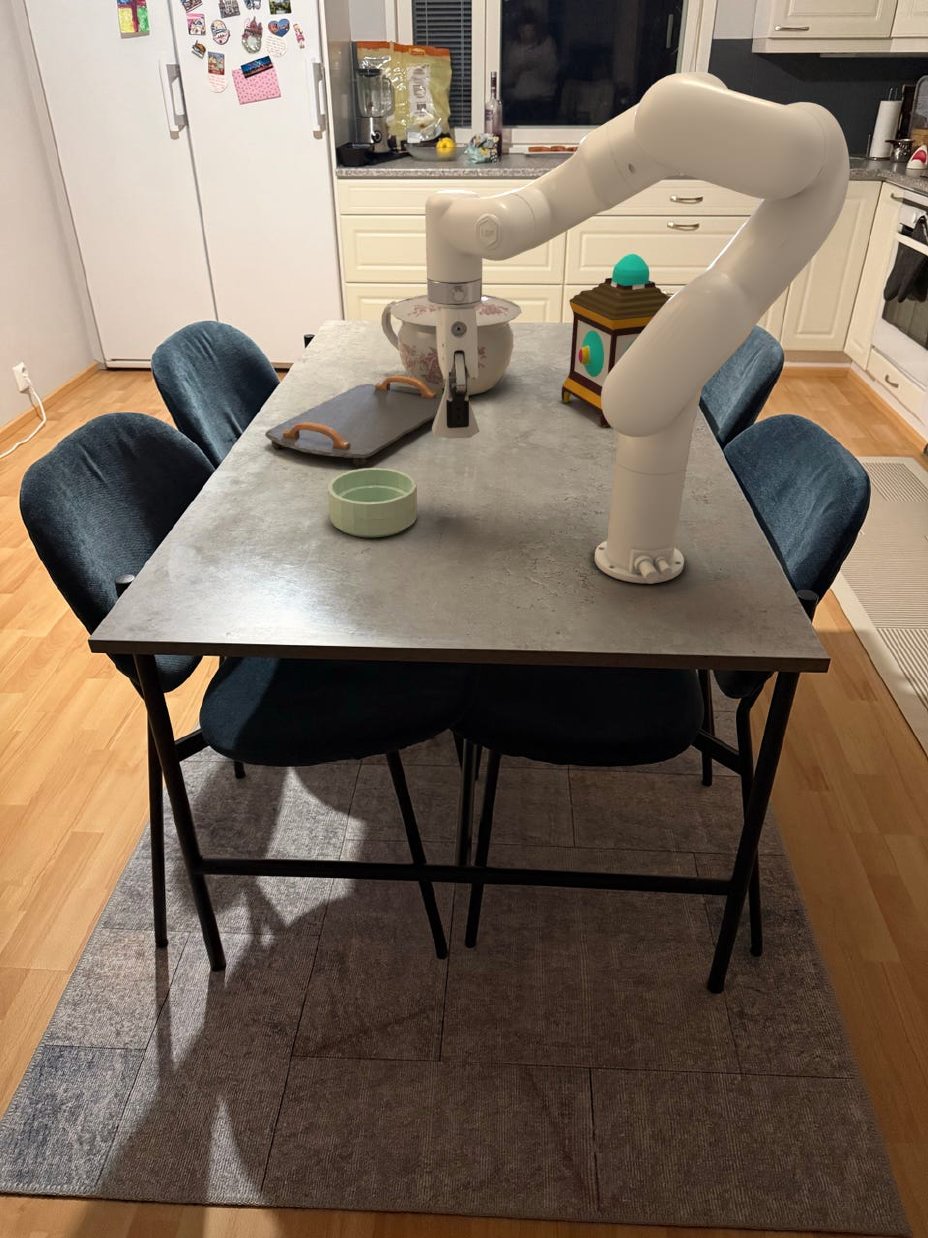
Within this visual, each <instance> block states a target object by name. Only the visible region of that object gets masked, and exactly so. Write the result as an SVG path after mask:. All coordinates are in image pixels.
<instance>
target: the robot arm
mask: <svg viewBox="0 0 928 1238" xmlns="http://www.w3.org/2000/svg"><path fill="white" fill-rule="evenodd" d="M842 129H843V128H841V126H840V123H839V122H838V120H837V119H836V117H835V116H834V115H833V114H832V113H831V112H830V111H829V110H828V109H827V108H825V107H824V106H822V105H819V104H817V103H815V102H814V103H813V102H807V101H806V102H805V101H798V102H792V103H789V104H782V103H777V102H774V101H770V100H767V99H763V98H761V97H760V98H759V97H755V96H752V95H748V94H745V93H741V92H738V91H734V90H733V89H728V87H727V85H726V83H724V82H723V81H722V80H721V79H720V78H719V77H717V76H715V75H714V74H713V73H709V72H705V71H687V72H678V73H672V74H670V75H666V76H665V77H663V78H661V79H659V80H657V81H656V82H655V83H654V84H652V85H651V87H649V88H648V90H646V92H645V93H644V94H643V96H642V97H641V99H640V100H639V102H638V103H637V104H635V105H633V106H632V107H630V108H627V110H625V111H623V112H622V113H620V114H619V115H617V116H615V117H614V118H612V119H610V120H608V121H606V122H605V123H604V124H602V125H600V126H599V127H597V128H595V129H593V130H591V131H590V132H589V133H588V134H586V135H585V136H584V137H583V138H582V139H581V140H580V142H579V144H578V146H577V150H576V151H575V152H574V153H573V154H572V155H571V156H570V157H569V158H568V159H566V160H565V161H564V162H563V163H560V164H559V165H558V166H556V167H555V168H553V169H551V170H550V171H548V172H547V173H545V174H543V175H542V176H540V177H538V178H536V179H535V180H533V181H531V182H530V183H528V184H526V185H524V186H522V187H520V188H518V189H513V190H510V191H505V192H502V193H499V194H496V195H492V196H487V197H481V196H480V195H479V194H478V193H475V192H473V191H469V190H458V189H457V190H455V189H451V190H441V191H440V190H439V191H435V192H433V193H431V194H430V195H428V196H427V198H426V201H425V207H424V209H425V210H424V214H425V253H426V254H425V255H426V260H425V261H426V294H427V303H428V304H429V305H431V306H434V307H436V336H437V352H438V362H439V366H440V369H441V372H442V375H443V386H444V387H445V383H446V380H447V381H448V400H446V412H447V427H448V428H463V427H468V426H469V401H470V398H469V396H468V373H469V375H470V378H473V380H476V379H477V378H478V343H477V319H476V309H475V306H478V305H480V304H481V303H482V294H483V259H484V260H488V261H495V262H497V261H506V260H509V259H512V258H514V257H516V256H519V255H521V254H523V253H525V252H527V251H532V250H533V249H536V248H538V247H540V246H542V245H544V244H545V243H547V242H549V241H551V240H553V239H555V238H556V237H558V236H560V235H562V234H564V233H565V232H567V231H569V230H571V229H572V228H575V227H576V226H579V225H580V224H582V223H584V222H586V221H587V220H589V219H591V218H592V217H594V216H596V215H598V214H600V213H602V212H605V211H609V210H612V209H614V208H615V207H617V206H618V205H620V204H622V203H623V202H625V201H627V200H629V199H631V198H633V197H634V196H636V195H638V194H640V193H642V192H643V191H645V190H647V189H649V188H650V187H652V186H654V185H656V184H658V183H659V182H661V181H663V180H665V179H667V178H668V177H669V178H670V176H673V175H675V174H676V173H680V174H681V175H685V176H688V177H691V178H694V179H696V180H700V181H703V182H705V183H709V184H712V185H715V186H718V187H721V188H724V189H727V190H730V191H733V192H736V193H740V194H742V195H745V196H749V197H752V198H756V199H759V200H761V202H760V203H759V204H758V205H757V207H756V209H754V211H753V212H752V214H751V215H750V216H749V217H748V218H747V220H746V221H744V223H743V224H742V225H741V226H740V228H739V229H738V230H737V231H736V233H735V234H734V236H733V237H732V238H731V240H730V241H729V242H728V244H726V246H725V247H724V248H723V250H722V251H721V252H720V253H719V254H718V256H717V257H716V258H715V259H714V260H713V261H712V263H711V264H710V265H709V266H708V267H706V269H705V270H704V271H703V272H702V273H701V274H700V275H698V276H697V277H695V278H694V279H693V280H691V281H690V282H688V283H687V284H686V285H684V286H683V287H681V288H680V289H679V290H677V291H676V292H675V293H674V294H672V296H670V297H671V298H670V299H669V300H668V301H667V302H666V303H665V304H664V305H663V307H662V308H661V309H660V310H659V311H658V312H657V314H656V315H655V316H654V317H653V319H652V320H651V321H650V322H649V324H648V325H647V326H646V327H645V329H644V330H643V331H642V332H641V334H640V335H639V336H638V337H637V339H636V340H635V341H634V342H633V344H632V345H631V346H630V347H629V349H628V350H627V351H626V352H625V354H624V355H623V356H622V357H621V359H620V360H619V361H618V362H617V364H616V365H615V366H614V367H613V369H612V370H611V371H610V373H609V374H608V376H607V377H606V379H605V382H604V384H603V388H602V392H601V406H602V411H603V414H604V416H605V418H606V420H607V422H608V423H607V424H609V425H610V427H611V428H612V429H613V430H615V431H616V432H618V434H617V441H616V449H615V459H614V468H613V469H614V470H613V479H612V488H611V498H610V509H609V519H608V529H607V531H608V532H607V539H606V540H605V541H603V542H601V543H600V544H599V545H597V546H596V548H595V551H594V563H595V565H596V566H597V568H598V569H599V570H600V571H602V572H603V573H604V574H606V575H608V577H609V576H610V577H612V578H614V579H617V580H621V581H623V582H628V583H634V584H648V585H649V584H650V585H652V584H657V583H664V582H667V581H670V580H672V579H674V578H676V577H678V576H679V575H680V574H681V573H682V572H683V570H684V565H685V558H684V555H683V553H682V552H681V551H680V550H679V549H678V548H677V547H676V542H677V536H678V535H677V534H678V529H679V521H680V515H681V507H682V501H683V494H684V487H685V479H686V473H687V467H688V462H689V455H690V447H691V444H692V443H691V442H692V437H693V433H694V432H693V431H694V428H695V427H694V426H695V423H696V422H695V421H696V419H697V418H696V417H697V414H698V409H699V405H700V400H701V396H702V392H703V387H705V385H706V384H707V383H708V382H709V381H710V380H711V379H712V378H713V376H715V374H716V373H717V372H718V371H719V370H720V369H721V368H722V367H723V365H724V364H726V362H727V361H728V360H729V359H730V358H731V357H732V355H733V354H734V353H736V351H737V350H738V349H739V348H740V347H741V346H742V345H743V344H744V342H745V341H746V340H747V339H748V337H749V336H750V335H751V333H752V332H753V329H754V328H755V327H756V325H757V324H758V322H759V321H760V320H761V319H762V317H763V316H764V315H765V314H766V312H768V310H769V309H771V307H772V306H773V305H774V303H775V302H777V300H778V299H779V298H780V297H781V296H782V294H783V293H784V292H785V291H786V290H787V289H788V287H790V285H791V284H792V283H793V282H794V280H795V279H796V278H797V277H798V275H799V274H800V273H801V272H802V271H803V270H804V268H805V267H806V266H807V265H808V264H809V263H810V261H811V260H812V259H813V258H814V256H815V255H816V254H817V253H818V251H819V250H820V249H821V247H823V245H824V243H825V242H826V240H827V239H828V237H829V236H830V235H831V232H832V231H833V229H834V227H835V225H836V223H837V222H838V220H839V217H840V215H841V213H842V211H843V207H844V204H845V201H846V198H847V195H848V194H847V193H848V188H849V183H850V173H851V169H850V167H851V166H850V156H849V149H848V145H847V141H846V138H845V135H844V132H843V130H842ZM467 371H468V373H467ZM451 374H455V377H456V378H451ZM452 383H456V384H455V385H456V386H453V388H452ZM444 389H445V388H442V396H443V393H444ZM468 398H469V399H468Z"/></svg>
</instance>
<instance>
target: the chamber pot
mask: <svg viewBox="0 0 928 1238" xmlns="http://www.w3.org/2000/svg"><path fill="white" fill-rule="evenodd" d="M475 309H476V319H477V343H478V378H477V379H476V380H473V378H470V375H469V373H468V371H467V373H468V397H470V396H471V397H472V396H475V395H479V394H481V393H485V392H487V391H489V390H492V388H494V387H495V386H496V384H498V383H499V381H500V379H501V378H502V376H503V375H504V373H505V372H506V370H507V369H508V367H509V366H510V362H511V358H512V354H513V349H514V330H513V328H512V326H511V324H510V321H513V320H515V319H517V318H518V316H520V315H521V314H522V309H521V306H520V305H518V304H517V303H515V302H514V301H511V300H509V299H505V298H502V297H499V296H496V295H490V294H485V293H482V303H481V304H480V305H478V306H475ZM392 316H393V317H394V318H395V319H397V320H399V321H401V325H400V326H399V329H398V333H397V334H396V332H395V331H394V329H393V325H392ZM380 325H381V327H382V331H383V334H384V336H386V338H387V340H388V341H389V343H390V344H391V345H392V346H393V347H394V348H395V349H396V350H397V351H398V352H399V356H400V360H401V364H402V366H403V368H404V369H405V371H406V373H407V374H408V377H411V378H415V379H417V380H420V381H421V382H423V383H424V384H425V385H426V386H427V387H428V389H429V390H430V391H431V392H434V393H436V394H439V395H442V388H445V387H444V386H443V375H442V372H441V369H440V366H439V362H438V352H437V336H436V307H434V306H431V305H429V304H428V303H427V293H425V294H419V295H416V296H411V297H408V298H404V299H402V300H399V301H396V300H393V301H391V302H389V303H387V305H386V306H385V307H384V309H383V311H382V314H381V324H380Z"/></svg>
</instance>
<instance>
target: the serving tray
mask: <svg viewBox="0 0 928 1238" xmlns="http://www.w3.org/2000/svg"><path fill="white" fill-rule="evenodd" d="M391 383H398V384H399V383H401V384H406V385H410V386H413V387H410V386H404V385H397V384H396V385H395V384H391ZM441 399H442V395H439V394H436V393H434V392H431V391H430V390H429V389H428V387H427V386H426V385H425V384H424V383H423V382H421V381H420V380H417V379H415V378H411V377H410V376H407V375H391V376H388V377H387V378H386V379H384V380H383V381H382V382H376V383H375V384H374V383H363V384H358V385H356V386H353V387H352V388H349V389H348V390H346V391H344V392H342V393H340V394H338V395H336V396H334V397H332V398H331V399H330V398H329V399H328V400H325V401H323V402H322V403H320V404H318V405H315V406H314V407H312V408H309V409H308V410H306V411H303V412H302V413H300V414H298V415H296V416H294V417H292V418H290V419H288V420H286V421H284V422H282V423H279V424H277V425H276V426H274V427H272V428H270V429H268V430H266V432H265V433H264V436H265V438H267V439H268V440H270V442H271V443H270V444H271V446H272V447H273V449H274V450H275V451H276V450H282V447H285V448H289V449H292V450H296V451H298V452H301V453H302V452H303V453H307V454H313V455H321V456H328V457H336V458H345V459H351V458H352V459H353V460H352V461H353V464H354V466H355V467H356V469H364V467H365V465H366V462H367V461H366V458H370V457H371V456H373V455H375V454H376V453H378V452H380V451H381V450H383V449H385V448H386V447H388V446H389V445H391V444H393V443H395V442H397V441H399V440H400V439H401V438H402V437H403V436H405V435H407V434H409V433H412V432H413V431H414V430H417V429H418V428H419V427H420V426H422V425H424V424H425V423H428V422H429V421H430V420H433V419H435V417H436V415H437V412H438V409H439V406H440V403H441Z"/></svg>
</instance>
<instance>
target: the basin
mask: <svg viewBox="0 0 928 1238" xmlns="http://www.w3.org/2000/svg"><path fill="white" fill-rule="evenodd" d="M417 488H418V487H417V482H416V480H415V478H413V477H412V476H411V475H410V474H408V473H406V472H404V471H402V470H397V469H392V468H386V467H385V468H382V467H367V468H366V467H365V468H364V467H363V468H357V469H354V470H349V471H346V472H342V473H340V474H337V476H335V477H332V479H331V480H330V481H329V482H328V484H327V494H328V495H327V496H328V508H329V518H330V519H329V520H330V522H331V524H332V525H333V526H334V527H335V528H336V529H338V530H340V531H342V532H344V533H346V534H348V535H351V536H355V537H359V538H382V537H387V536H393V535H396V534H399V533H401V532H403V531H404V530H406V529H407V528H409V527H410V526H411V525H413V524H414V523H415V522H416V520H417V518H418V491H417V490H418V489H417Z"/></svg>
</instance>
